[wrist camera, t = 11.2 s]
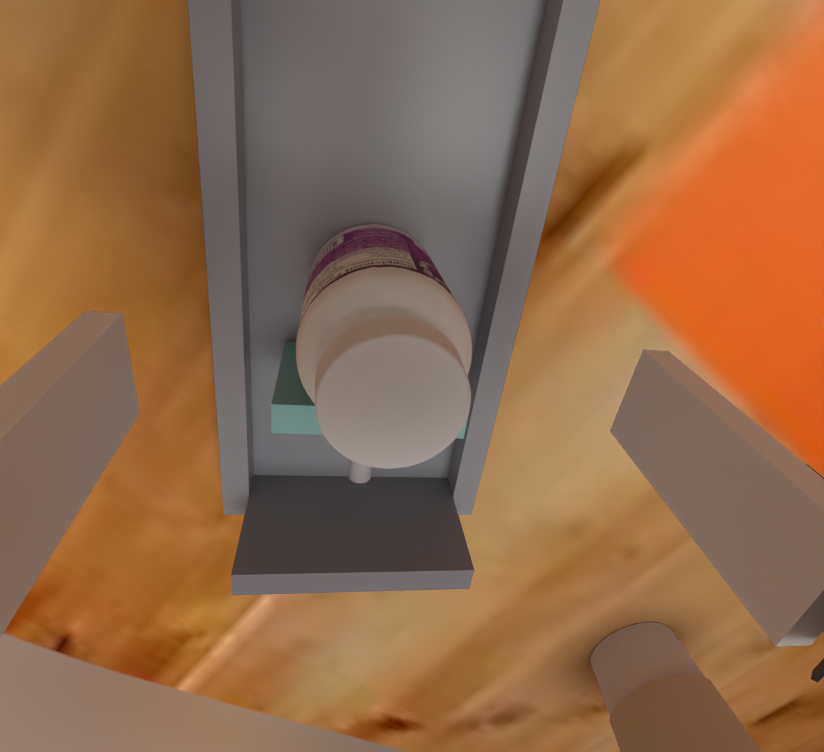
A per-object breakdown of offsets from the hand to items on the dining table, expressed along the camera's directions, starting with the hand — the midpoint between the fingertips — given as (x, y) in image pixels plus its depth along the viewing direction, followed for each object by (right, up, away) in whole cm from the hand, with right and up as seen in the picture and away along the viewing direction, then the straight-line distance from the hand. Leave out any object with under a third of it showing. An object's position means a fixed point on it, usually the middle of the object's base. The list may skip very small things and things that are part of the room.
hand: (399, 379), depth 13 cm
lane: (-1, +5, +8) cm, 10 cm away
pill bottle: (-1, +4, +8) cm, 9 cm away
